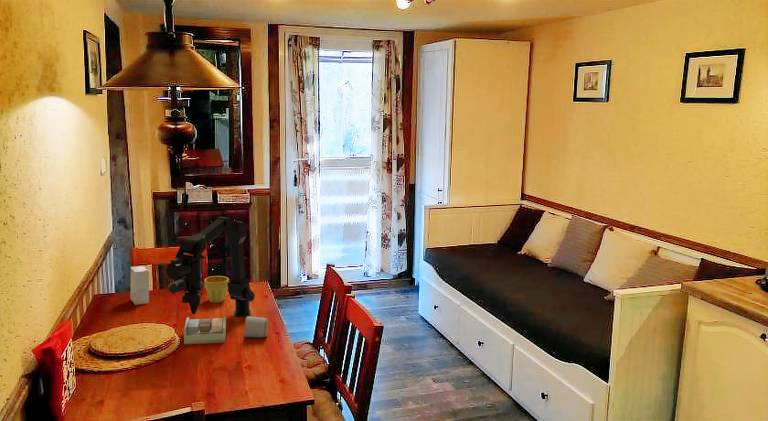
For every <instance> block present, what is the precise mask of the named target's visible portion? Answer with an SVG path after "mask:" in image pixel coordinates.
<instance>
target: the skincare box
mask: <svg viewBox="0 0 768 421" xmlns="http://www.w3.org/2000/svg"><path fill="white" fill-rule="evenodd" d="M129 297H130V298H129V299H130V301H132V303H133V304H134V305H135V306H137V305H139V306H140V305H144V304H149V303H150V271H149V270H148V268H147V267H145V266H144V265H141V266H139V265H138V266H130V296H129Z"/></svg>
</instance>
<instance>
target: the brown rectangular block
mask: <svg viewBox="0 0 768 421" xmlns="http://www.w3.org/2000/svg"><path fill="white" fill-rule="evenodd" d="M211 322H212V318H200V333H202V332H210V329H211Z"/></svg>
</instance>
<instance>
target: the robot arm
mask: <svg viewBox="0 0 768 421" xmlns="http://www.w3.org/2000/svg"><path fill="white" fill-rule="evenodd" d="M223 231H224V232H225V237H226V239H227V241H228V243H229V245H230V257H231V258H230V261H231V263H230V264H231V276H232V277H231V279H230V280H229V282H228V284H227V285H228V287H227V293H228V294H229V297H230V300H234V301H235V304H234V305H235V307H234V315H233V316H234V317H247V316H250V317H251V315H252V314H251V308H250V303H251V302H253V300H255V297H256V294H255V293H254V291H252V288H251V285H250V282H249V280H248V278H247V277H246V272H245V271H246V270H245V255H244V254H245V253H244V242H245V240H246V238H247V235H248V226H247V224H246V223H245V222H244V221H238V220H234V219H231V218H229V217H224V216H219V217H216V218H215V220H214V221H213V222H212V223H210V224H209V225H208V226H206V227H205V228H204V229H202V230H201V231H200V232H199V233H197V234H193V235H192V234H191V235H190V236H187V237H185V238H184V239H183V240H182V241H181V243H180V246H179V248H178V250H177V253H175V254H176V255H175V257H174V259H171V260H170V264H168V265H167V267H166V269H165V270H166V272H165V273H166V275H167V277H168V278H169V279H170V280H174V281H172V282H170V283H169V284H168V286H167V287H168V292H169V293H170V294H171V295H175V294H176V293H179V292H181V291H182V292H184V293H183V294H182V297H181V303H182V304H188V305H189V308H190V312H191V315H195V314H196V313H197V310H198V307H199V305H200V303H201V302H202V297H203V292H201V291H202V290H204V288H205V286H204V281H202V260H204V259H205V258H206V256H205V255H203V253H204V252H205V251H206V250H207V247H208V244H209V243H210V242H211V241H212V240H214V239H215V238H216V237H217V236H219V235H220V234H221V233H223Z"/></svg>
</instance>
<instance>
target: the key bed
mask: <svg viewBox="0 0 768 421" xmlns="http://www.w3.org/2000/svg"><path fill="white" fill-rule="evenodd" d="M226 316H227V315H223V317H222V318H223V326H222V332H212V321H211V329H210V332H202V333H200V325H199V331H198V333H188V323H189V319H190V317H188V316H187V317H186V320H185V324H184V327H183V345H197V344H198V345H199V344H216V343H217V344H218V343H226V332H227V317H226Z"/></svg>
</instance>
